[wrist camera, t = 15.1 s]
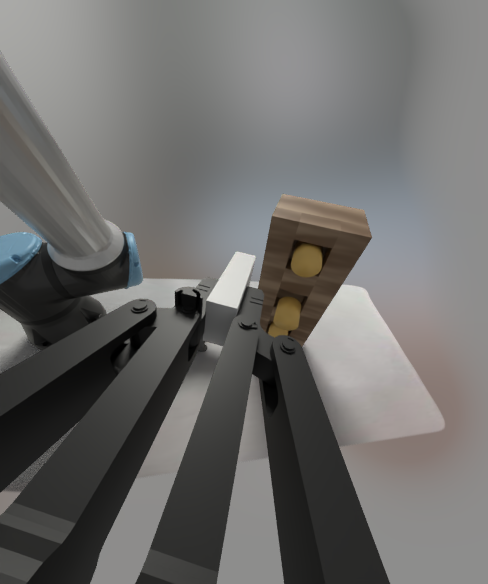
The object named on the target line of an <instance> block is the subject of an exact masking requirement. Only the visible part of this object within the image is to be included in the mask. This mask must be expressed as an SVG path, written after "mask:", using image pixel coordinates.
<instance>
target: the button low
mask: <svg viewBox="0 0 488 584" xmlns="http://www.w3.org/2000/svg"><path fill="white" fill-rule="evenodd" d="M268 334H269V335H270V336H272V337H274V338H275V337H277V336H279V335H287V336H288V330H283V329H280V328H278V327H277V326H276V325H275V324H274V322H272V321H271V324H270V328H269V331H268Z"/></svg>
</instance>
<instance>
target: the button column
mask: <svg viewBox="0 0 488 584" xmlns="http://www.w3.org/2000/svg"><path fill="white" fill-rule="evenodd" d="M371 238H372V236H371V233H370V230H369V226H368V223H367V219H366V215H365V212H364V210H360V209H356V208H351V207H345V206H341V205H335V204H331V203H326V202H321V201H316V200H310V199H306V198H300V197H295V196H291V195H285V194H282V196H281V198H280V200H279V202H278V204H277V207H276V209H275V211H274V213H273V215H272V219H271V224H270V229H269V234H268V240H267V245H266V250H265V255H264V260H263V265H262V271H261V276H260V281H259V286H258V289H260V290H262V291H263V293H264V300H263V305H262V312H261V317H260V326H261V328H262V329H263V330H264V331H265V332H266V333H267V334H268V331H269V328H270V324H271V321H272V322H273V320H274V316H275V312H276V308H277V304H278V301H279V299H281V298H283V297H293V298H295V299H297V300H298V301H299V302H300V303H301V311H300V318H299V325H298V328H296V329H295V330H290V331H288V336H290V337H292V338H294V339H295V340H296V341H298V342H299V344H300V345H301V347H302V346H303V344H304V343H305V341H306V340H307V338H308V337H309V335H310V334H311V332H312V331H313V329H314V327H315V326H316V324H317V323H318V321H319V320H320V318H321V317H322V315H323V313H324V312H325V310H326V309H327V307H328V306H329V304H330V302H331V301H332V299H333V298H334V296H335V295H336V293H337V292H338V290H339V288H340V287H341V285H342V284H343V282H344V281H345V279H346V278H347V276H348V274H349V273H350V271H351V270H352V268H353V267H354V265H355V263H356V262H357V260H358V259H359V257H360V256H361V254H362V253H363V251H364V250H365V248H366V246H367V245H368V243H369V242H370V240H371ZM299 241H302V242H307V243H311V244H315V245H319V246H322V247H323V255H322V268H321V270H320V272H319V273H318V274H317V275H315V276H312V277H301V276H298V275H296V274H295V273H294V272H293V270H292V268H291V262H292V257H293V253H294V249H295V246H296V244H297V243H298V242H299Z"/></svg>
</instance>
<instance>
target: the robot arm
mask: <svg viewBox="0 0 488 584" xmlns="http://www.w3.org/2000/svg"><path fill="white" fill-rule="evenodd" d="M0 201H1V202H2V203H3V204H4V205H5V206H6V207H8V208H9V209H10V210H11V211H12V212H13V213H15V214H16V215H17V216H18V217H19V218H20V219H22V220H23V221H24V222H25V223H26V224H27V225H28V226H29V227H31V228H32V229H33V230H34V231H35V232H36V233H38V234H39V235H40V236H41V237H42V238H43V239H44V240H45V241H47V243H43V242H42V240H41V239H40V238H39V237H37V236H36V235H34V234H31V233H26V232H19V233H11V234H7V235H3V236H0V309H1V310H2V311H4V312H5V313H7V314H8V315H10V316H11V317H13V318H14V319H16V320H17V321H18V322H20V323H21V325H22V327H23V329H24V331H25V333H26V335H27V337H28V339H29V341H30V342H31V343H32V344H33V345H34V346H36V347H37V348H39V349H41V350H42V351H40V352H39V353H37V354H35V355H33V356H32V357H30V358H28V359H26V360H24V361H23V362H21V363H19V364H17V365H15V366H14V367H12V368H10V369H8V370H6V371H5V372H3V373H1V374H0V492H1V491H3V490H4V489H5V488H6V487H7V486H8V485H9V484H10V483H11V482H12V481H14V480H15V479H16V478H17V477H18V476H19V475H20V474H21V473H22V472H24V471H25V470H26V469H27V468H28V467H29V466H30V465H31V464H32V463H33V462H35V461H36V460H37V459H38V458H39V457H40V456H41V455H42V454H43V453H45V452H46V451H47V450H48V449H49V448H50V447H51V446H52V445H53V444H54V443H56V442H57V441H58V440H59V439H60V438H61V437H62V436H63V435H64V434H65V433H67V432H68V431H69V430H70V429H71V428H72V427H73V426H74V425H75V424H77V423H78V422H79V421H80V422H79V423H78V424H77V425H76V427H75V428H74V429H73V430H72V431H71V433H70V434H69V435H68V436H67V437H66V439H65V440H64V441H63V442H62V444H61V445H60V446H59V447H58V448H57V450H56V451H55V452H54V453H53V454H52V456H51V457H50V458H49V459H48V461H47V462H46V463H45V464H44V465H43V467H42V468H41V469H40V470H39V471H38V473H37V474H36V475H35V476H34V478H33V479H32V480H31V481H30V482H29V484H28V485H27V486H26V487H25V489H24V490H23V491H22V492H21V493H20V495H19V496H18V497H17V498H16V500H15V501H14V502H13V503H12V504H11V505H10V506H9V508H8V509H7V510H6V511H5V512H4V513H3V514H2V515H0V584H90V582H91V580H92V577H93V574H94V571H95V569H96V566H97V562H98V558H99V554H100V552H101V549H102V546H103V544H104V542H105V540H106V538H107V536H108V534H109V532H110V530H111V528H112V526H113V523H114V521H115V519H116V517H117V515H118V513H119V511H120V509H121V507H122V505H123V503H124V501H125V499H126V497H127V495H128V493H129V490H130V488H131V486H132V484H133V482H134V480H135V478H136V476H137V474H138V472H139V470H140V468H141V466H142V464H143V462H144V460H145V458H146V456H147V454H148V452H149V450H150V448H151V446H152V444H153V441H154V439H155V437H156V435H157V433H158V431H159V429H160V427H161V425H162V423H163V421H164V419H165V417H166V415H167V413H168V411H169V409H170V407H171V405H172V402H173V400H174V398H175V396H176V394H177V392H178V390H179V388H180V386H181V384H182V382H183V380H184V378H185V376H186V374H187V372H188V370H189V368H190V366H191V364H192V361H193V359H194V357H195V355H196V353H197V351H198V349H199V345H200V340H201V338H202V336H203V341H206V342H210V343H214V344H217V345H221V346H223V348H222V351H221V354H220V357H219V359H218V362H217V365H216V368H215V370H214V373H213V376H212V379H211V382H210V384H209V387H208V390H207V393H206V395H205V398H204V401H203V404H202V406H201V409H200V412H199V415H198V417H197V420H196V423H195V426H194V429H193V431H192V434H191V437H190V440H189V442H188V445H187V448H186V451H185V453H184V456H183V459H182V462H181V464H180V467H179V470H178V473H177V476H176V478H175V481H174V484H173V487H172V489H171V492H170V495H169V498H168V500H167V503H166V506H165V509H164V512H163V514H162V517H161V520H160V522H159V525H158V528H157V531H156V534H155V537H154V539H153V542H152V545H151V548H150V550H149V553H148V555H147V558H146V561H145V563H144V566H143V568H142V570H141V573H140V575H139V577H138V579H137V582H136V583H135V584H216V583H217V577H218V571H219V565H220V559H221V553H222V547H223V541H224V536H225V530H226V524H227V517H228V512H229V506H230V500H231V494H232V488H233V483H234V477H235V471H236V465H237V459H238V453H239V447H240V441H241V436H242V430H243V424H244V418H245V412H246V406H247V400H248V394H249V389H250V383H251V377H252V374H253V375H255V376H256V377H258V378H259V383H260V391H261V399H262V407H263V415H264V423H265V431H266V439H267V448H268V456H269V463H270V472H271V480H272V487H273V496H274V504H275V512H276V520H277V529H278V536H279V544H280V553H281V561H282V568H283V576H284V584H390V582H389V580H388V577H387V574H386V572H385V569H384V567H383V564H382V561H381V559H380V556H379V553H378V550H377V548H376V545H375V542H374V540H373V537H372V534H371V532H370V529H369V526H368V523H367V521H366V518H365V515H364V513H363V510H362V507H361V505H360V502H359V500H358V497H357V494H356V491H355V489H354V486H353V483H352V481H351V478H350V475H349V473H348V470H347V467H346V465H345V462H344V459H343V456H342V454H341V451H340V448H339V446H338V443H337V440H336V438H335V435H334V432H333V430H332V427H331V424H330V422H329V419H328V416H327V414H326V411H325V408H324V405H323V403H322V400H321V397H320V395H319V392H318V389H317V387H316V384H315V381H314V379H313V376H312V373H311V371H310V368H309V365H308V363H307V360H306V357H305V355H304V352H303V349H302V347H301V345H300V344H299V342H298V341H296V340H295V339H294V338H292V337H290V336H287V335H279V336H277V337H275V338H274V337H272V336H270V335H269V334H267V333H266V332H265V331H264V330H263V329H262V328H261V326H260V317H261V312H262V305H263V300H264V293H263V291H262V290H260V289H256V288H252V287H249V284H250V280H251V275H252V271H253V267H254V262H255V258H256V256H253V255H249V254H245V253H241V252H236V253H235V255H234V256H233V258H232V260H231V261H230V263H229V264H228V266H227V268H226V270H225V271H224V272H223V274H222V276H221V277H220V279H219V280H218V279H214V278H211V277H207V278H205V279H203V280H202V281H201V282H200V283H199V285H198V286H197V287H196V288H194V287H182V288H179V289H177V290H176V291H175V306H174V307H173V308H156V304H155V303H154V302H153V301H152V300H149V299H136V300H133V301H131V302H128V303H127V304H125V305H123V306H121V307H119V308H118V309H116V310H114V311H112V312H110V313H109V314H107V315H106V310H105V309H104V307H103V306H102V305H101V303H100V302H99V301H97V300H96V299H94V298H92V297H91V296H89V295H94V294H98V293H103V292H108V291H113V290H118V289H123V288H125V289H127V288H129V287H132V286H136V285H139V284H141V283H142V281H143V276H142V269H141V264H140V259H139V255H138V250H137V246H136V241H135V238H134V235H133V234H132V233H127V232H123V233H122V232H121V231H120V229H119V228H118V227H117V226H116V225H115V224H113V223H112V222H110V221H108V220H105V219H103V218H102V216H101V214H100V213H99V211H98V209H97V208H96V206H95V205H94V203H93V201H92V200H91V198H90V196H89V195H88V193H87V192H86V190H85V189H84V187H83V185H82V184H81V182H80V180H79V179H78V177H77V175H76V174H75V172H74V171H73V169H72V167H71V166H70V164H69V162H68V161H67V159H66V157H65V156H64V154H63V153H62V151H61V149H60V148H59V146H58V144H57V143H56V141H55V140H54V138H53V136H52V135H51V133H50V131H49V130H48V128H47V127H46V125H45V123H44V122H43V120H42V118H41V117H40V115H39V113H38V112H37V110H36V109H35V107H34V105H33V104H32V102H31V100H30V99H29V97H28V96H27V94H26V92H25V91H24V89H23V87H22V86H21V84H20V83H19V81H18V79H17V78H16V76H15V74H14V73H13V71H12V69H11V68H10V66H9V65H8V63H7V61H6V60H5V58H4V56H3V55H2V53H1V52H0ZM126 340H127V341H126Z"/></svg>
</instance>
